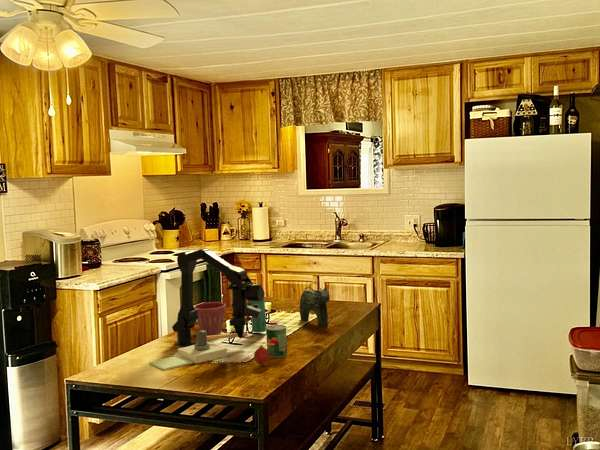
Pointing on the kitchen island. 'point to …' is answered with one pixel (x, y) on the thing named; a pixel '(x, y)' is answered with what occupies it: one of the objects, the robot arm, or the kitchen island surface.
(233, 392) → the kitchen island surface
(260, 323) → the beverage bottle
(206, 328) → the plant pot
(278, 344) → the canned tomato
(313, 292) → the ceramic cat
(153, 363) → the pale green mat
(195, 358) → the socket block
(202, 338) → the plug
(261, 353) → the onion
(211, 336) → the lever
